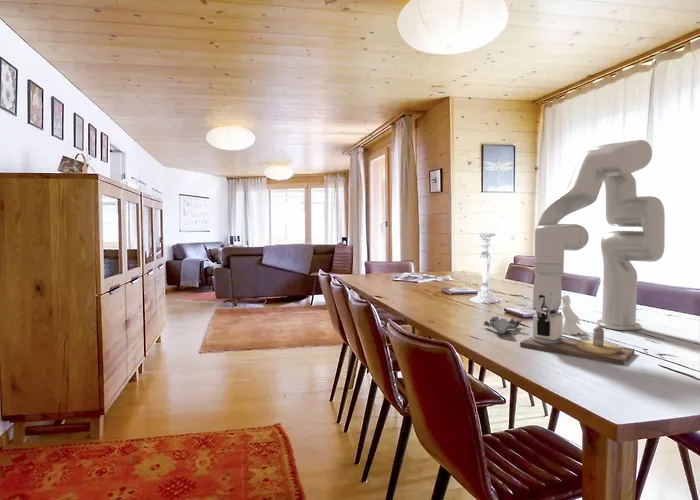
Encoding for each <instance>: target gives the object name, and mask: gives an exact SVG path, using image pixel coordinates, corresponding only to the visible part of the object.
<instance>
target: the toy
mask: <svg viewBox="0 0 700 500" xmlns="http://www.w3.org/2000/svg"><path fill="white" fill-rule="evenodd" d="M521 323H522V319H521V318H519V317H517V319H516V320H515V318H511V319H510V320H507V319H506V318H505V317H502V318H500V319H499V316H498V315H497V316H492V317H491V318H490V319H489V321H487V320H485V321H483V323H482V325H483V326H485V327H493V329H495V330H496V331H497V332H498V334H500V335H504V334H505V333H508V330H516V329H517V327H519V326H520V324H521Z"/></svg>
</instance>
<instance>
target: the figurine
mask: <svg viewBox="0 0 700 500" xmlns="http://www.w3.org/2000/svg"><path fill="white" fill-rule="evenodd" d="M561 301H562V302H561V309H562V313H563V314H562V315H563V317H564V321H563V330H562V333H564V334H565V335H568V336H572V335H578V333H579V334H580V335H582V336H584V335H589V333H588V332H586V331H585V330H583V329H582V328H581V327H579V325H581V319H580V318H579V316H578V315H577V314H576V313H575V312H574V311H573V309H572V307H571V298H570V296H569V295H568V294H563V295H562V294H561Z"/></svg>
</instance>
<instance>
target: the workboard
mask: <svg viewBox="0 0 700 500" xmlns="http://www.w3.org/2000/svg"><path fill="white" fill-rule="evenodd" d="M592 331H593V335H592V336H593V337H592V340H578V339H572V338H568V337H567V338H566V337H563V336H562V337H560V338H558V339H556V340H550V339H544V338H538V337H533V334H532V335H531V336H530V337H528V338H526V339H524V340H522V341H520V342H519V347H521V348H522V347H523V348H525V349H526V348H527V349H532V350H538V351H544V352H548V353H553V354H554V353H556V354H559V355H565V356H566V355H567V356H570V357H577V358H581V359H587V360H591V361H592V360H593V361H598V362H603V363H604V362H605V363H610V364H615V365H619V366H620V365H621V366H623V365H625V363H627V361H629V359H631V358H632V357H633V356H634V354H635V349H634V348H629V347H623V346H619V345H617V344H614V343H611V342H605V341H604V337H605V331H604V327H601V326H595V327H594V328H593V330H592Z"/></svg>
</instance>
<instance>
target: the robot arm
mask: <svg viewBox="0 0 700 500" xmlns="http://www.w3.org/2000/svg"><path fill="white" fill-rule="evenodd" d="M652 157H653V149H652V146H651V144H650V143H649V142H648V141H646V140H644V139H637V140H635V139H634V140H627V141H622V142H615V143H607V144H601V145H598V146H596V147H593V148H592V149H590V150H587V151H585V152H583V153H582V154H581V155H580V156H579V158H578V160H577V163H576V165H575V167H574V170H573V173H572V176H571V179H570V181H569V183H568V186H567V188H566V190H565V191H564V192H563V193H562V194H560V195H559V196H558V197H556V199H554V200H553V201H552V202H551V203H550V204H548V206H547V207H546V208H545V209H544V210H543V211H542V212H541V215H540V217H539V220H538V222H537V224H536V225H537V226H536V228H535V229H534V264H533V265H534V266H533V268H534V269H533V271H534V272H533V273H534V275H535V276H534V282H533V291H532V307H531V308H532V309H533V310H534V311H535V312H536V314H537V334H538V335H542V336H549V335H550V322H548V321H549V314H550V313H551V314H559V309H560V308H561V307H562V299H561V296H562V276H564V273H565V272H564V267H565V266H564V265H565V264H564V263H565V251H571V252H572V251H573V252H574V251H580V250H582V249H584V248H585V247H586V246H587V244H588V242H589V232H588V230H587V229H586V228H585V227H584V226H583V225H579V224H575V223H559V222H561V220H562V219H564V218H565V217H566V216H569V214H572V213H574V212H577V211H579V210H582V209H583V208H584V209H585V208H586V207H589V206H590V205H593V204H594V203H595V202H596V201H597V200H598V199H597V198H598V196H599V193H600V191H601V188H602V185H603V182H604V185H605V215H606V216H605V217H606V222H607V224H609V225H610V226H612V227H622V228H623V227H624V228H627V227H628V228H629V227H630V228H631V227H632V228H642V230H615V231H610V232H606V233H605V234H604V235H603V236H602V238H601V241H600V242H601V243H600V250H601V253H602V254H601V255H602V260H603V261H602V263H603V280H602V281H603V282H602V284H603V285H602V315H601V317H602V318H601V319H598V320H597V321H596V324H597V326H598V327H601V328H603V329H604V328H605V329H611V330H616V331H638V330H641V329H642V325H641V323H638V322H637V320H636V319H637V298H638V296H637V295H638V293H637V292H638V291H637V290H638V273H637V271H636V268H635V267H634V265H633V263H632V262H631V261H633V262H649V263H650V262H658V261H659V260H661V258H662V257H663V255H664V253H665V242H666V241H665V239H666V237H665V233H666V231H665V221H666V219H665V218H666V217H665V216H666V215H665V208H664V204H663V202H662V201H661V199H660V198H658V197H656V196H653V195H649V196H646V195H645V196H644V195H643V196H638V195H637V180H636V178H635V177H634V176H633V174H632V173H636V172H638V171H639V170H640V171H641V170H643V169H645V168H646V167H647V166H648V165H649V164H650V162H651V160H652ZM544 313H546V316H545V314H544Z"/></svg>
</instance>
